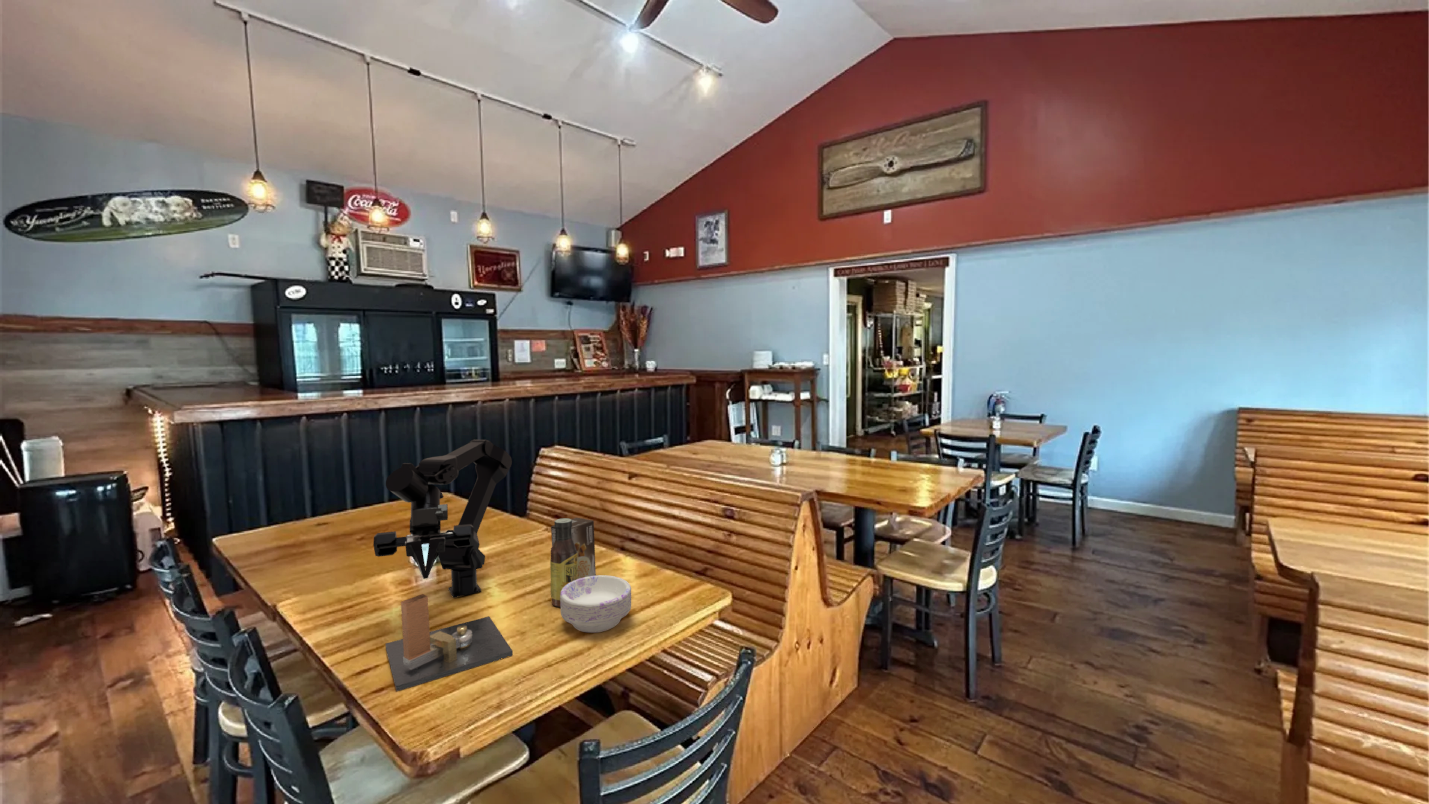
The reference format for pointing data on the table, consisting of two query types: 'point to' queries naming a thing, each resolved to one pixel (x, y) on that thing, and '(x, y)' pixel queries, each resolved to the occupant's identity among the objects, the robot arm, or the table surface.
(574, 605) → the paper bowls
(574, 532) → the coffee box
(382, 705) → the table surface
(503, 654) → the base plate
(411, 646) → the link
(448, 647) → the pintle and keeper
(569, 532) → the sauce bottle
